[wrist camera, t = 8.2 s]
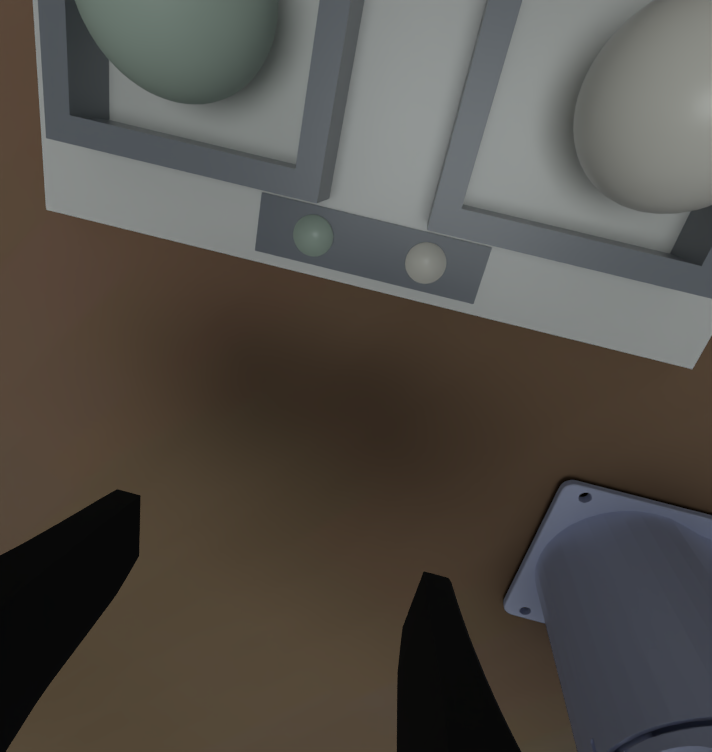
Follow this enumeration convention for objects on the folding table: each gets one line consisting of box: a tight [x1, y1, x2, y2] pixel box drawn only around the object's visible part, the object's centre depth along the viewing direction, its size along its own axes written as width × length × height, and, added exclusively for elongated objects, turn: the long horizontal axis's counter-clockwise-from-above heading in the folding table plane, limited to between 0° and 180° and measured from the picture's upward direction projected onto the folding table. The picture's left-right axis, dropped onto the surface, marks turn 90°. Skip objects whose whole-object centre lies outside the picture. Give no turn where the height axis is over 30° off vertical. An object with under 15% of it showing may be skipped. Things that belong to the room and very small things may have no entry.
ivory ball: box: [573, 0, 712, 214], centre depth 12 cm, size 5×5×5 cm
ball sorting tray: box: [33, 0, 712, 369], centre depth 14 cm, size 24×14×3 cm, turn 78°
